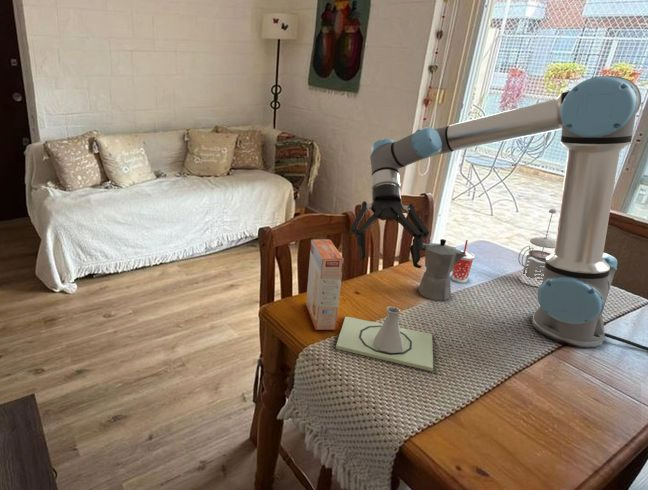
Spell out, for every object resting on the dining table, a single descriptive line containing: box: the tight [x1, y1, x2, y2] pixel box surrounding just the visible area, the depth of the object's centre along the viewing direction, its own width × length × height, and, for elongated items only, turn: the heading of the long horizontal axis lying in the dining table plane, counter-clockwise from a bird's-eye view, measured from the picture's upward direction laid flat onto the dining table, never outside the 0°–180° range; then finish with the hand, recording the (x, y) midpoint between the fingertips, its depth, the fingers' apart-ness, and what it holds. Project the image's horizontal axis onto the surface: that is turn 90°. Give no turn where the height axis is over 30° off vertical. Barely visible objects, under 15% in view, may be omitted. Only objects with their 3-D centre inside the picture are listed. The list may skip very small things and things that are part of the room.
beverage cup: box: [451, 239, 475, 284], centre depth 143 cm, size 6×6×14 cm
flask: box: [374, 305, 404, 353], centre depth 107 cm, size 7×7×10 cm
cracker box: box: [305, 238, 345, 331], centre depth 119 cm, size 14×6×21 cm, turn 0°
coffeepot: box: [409, 238, 466, 301], centre depth 134 cm, size 15×9×18 cm, turn 59°
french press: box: [517, 208, 557, 280], centre depth 140 cm, size 10×12×25 cm
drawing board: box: [335, 315, 434, 372], centre depth 111 cm, size 22×15×1 cm
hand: (389, 259), depth 114 cm, fingers open, 13 cm apart
